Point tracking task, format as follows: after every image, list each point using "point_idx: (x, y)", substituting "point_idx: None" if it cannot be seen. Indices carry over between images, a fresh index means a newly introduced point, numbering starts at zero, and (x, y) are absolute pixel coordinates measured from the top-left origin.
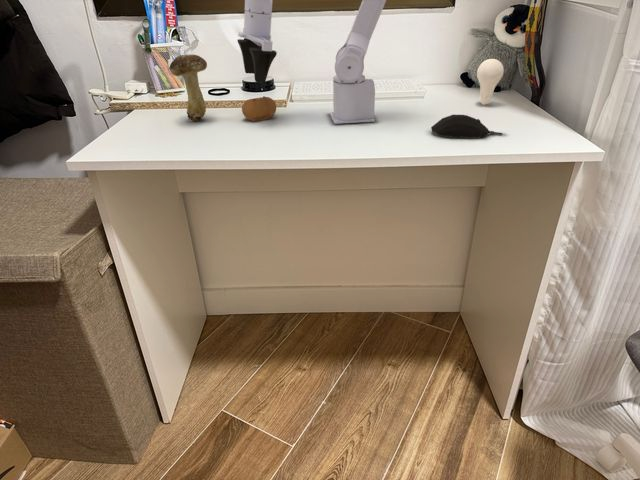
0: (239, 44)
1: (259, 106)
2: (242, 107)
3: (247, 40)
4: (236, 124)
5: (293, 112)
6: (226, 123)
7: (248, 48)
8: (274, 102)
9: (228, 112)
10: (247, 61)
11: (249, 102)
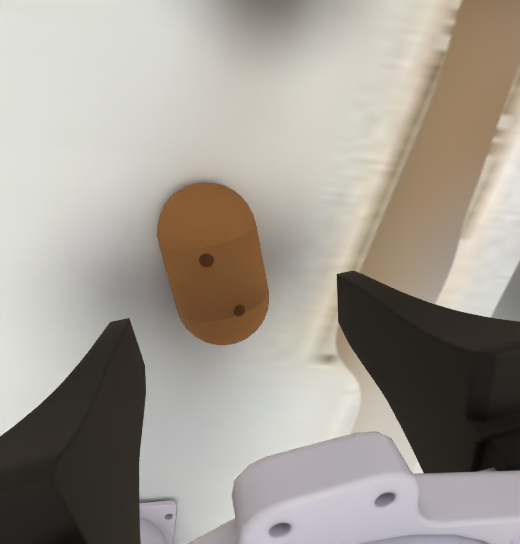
0: (506, 332)
1: (172, 272)
2: (202, 188)
3: (493, 438)
4: (152, 140)
5: (246, 383)
6: (181, 93)
7: (429, 392)
8: (214, 343)
9: (343, 124)
10: (375, 321)
11: (187, 231)
